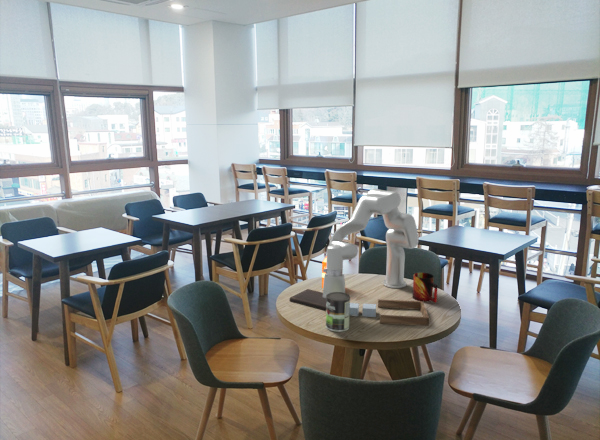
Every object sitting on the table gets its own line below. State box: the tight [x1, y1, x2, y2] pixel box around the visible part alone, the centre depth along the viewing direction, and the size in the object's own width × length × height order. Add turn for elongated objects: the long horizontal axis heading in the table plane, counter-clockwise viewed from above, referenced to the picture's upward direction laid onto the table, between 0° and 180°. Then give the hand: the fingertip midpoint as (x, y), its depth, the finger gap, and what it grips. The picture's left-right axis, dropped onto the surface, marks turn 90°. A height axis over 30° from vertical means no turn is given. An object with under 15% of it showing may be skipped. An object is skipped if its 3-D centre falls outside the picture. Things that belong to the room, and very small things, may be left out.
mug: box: [412, 272, 438, 304], centre depth 235 cm, size 10×14×12 cm
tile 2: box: [361, 303, 377, 318], centre depth 217 cm, size 6×6×4 cm
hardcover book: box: [289, 288, 326, 312], centre depth 233 cm, size 16×23×2 cm
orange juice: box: [321, 255, 327, 289], centre depth 252 cm, size 8×9×20 cm
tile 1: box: [349, 302, 360, 317], centre depth 218 cm, size 6×6×4 cm
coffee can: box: [325, 292, 351, 333], centre depth 202 cm, size 10×10×14 cm
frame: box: [377, 299, 430, 327], centre depth 215 cm, size 20×21×4 cm
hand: (333, 309), depth 219 cm, fingers closed
